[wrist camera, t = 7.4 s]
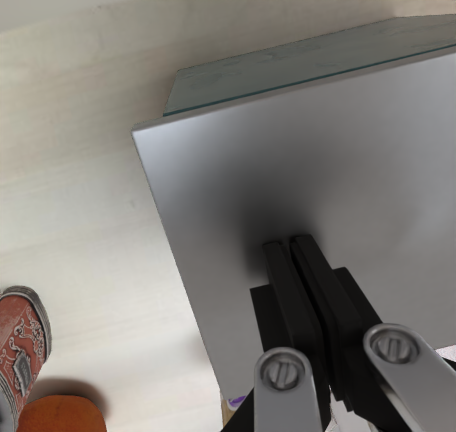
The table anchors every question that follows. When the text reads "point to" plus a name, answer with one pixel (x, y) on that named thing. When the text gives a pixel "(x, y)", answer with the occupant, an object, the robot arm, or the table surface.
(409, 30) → the teal box
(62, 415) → the fruit
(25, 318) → the lighter
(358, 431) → the mug
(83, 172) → the table surface
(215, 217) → the box lid
